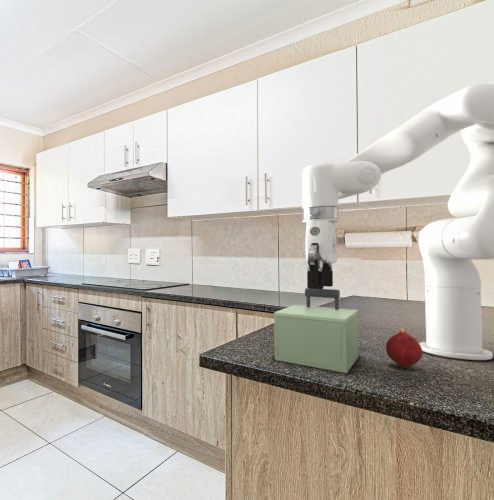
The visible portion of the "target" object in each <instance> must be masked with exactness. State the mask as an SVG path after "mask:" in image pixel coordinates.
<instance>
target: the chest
mask: <svg viewBox="0 0 494 500" xmlns="http://www.w3.org/2000/svg"><path fill="white" fill-rule="evenodd" d="M273 317H274V320H273V321H274V322H273V323H274V324H273V325H274V360H275V361H279V362H283V363H289V364H294V365H300V366H305V367H310V368H317V369H320V370H327V371H331V372H337V373H343V374H347V373H348V372H349V371H350V370H351V368H353V367H352V366H353V365H354V364H355V362H357V360H358V358H359V325H358V324H359V321H358V318H359V317H358V314H356V315H355V316H354V317H353V318H351V319H350V320H349V321H348V322H346V323H339V322H329V321H319V320H309V319H300V318H290V317H280V316H273Z"/></svg>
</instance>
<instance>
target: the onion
mask: <svg viewBox="0 0 494 500" xmlns="http://www.w3.org/2000/svg"><path fill="white" fill-rule="evenodd" d="M406 330H407V329H405V328H400V329H399V331H398V332H397V333H396V334H393V335H392V336H390V337H389V338H388V340H387V341H386V343H385V352H386V354H387V356H388V357H389V359H390V360H391V361H393V363H395V364H397V365H398V366H399V367H400V368H402V369H408V368H409V367H412V366H414V365H415V364H417V363H419V362H420V360H421V359H422V357H423V351H422V348H421V346H420V344H419V343H420V342H419V341H418V340H417V339H416V338H414V336H412V335H411V334H409V333H408V332H407V331H406Z"/></svg>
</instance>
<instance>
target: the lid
mask: <svg viewBox="0 0 494 500" xmlns="http://www.w3.org/2000/svg"><path fill="white" fill-rule="evenodd" d="M304 296H305V297H306V302H305V305H304V304H303V305H301V304H292V305H290V306H287V307H285V308H282V309H280V310H277V311H274V312H273V315H274V316H280V317H290V318H300V319H309V320H319V321H329V322H339V323H346V322H348V321H349V320H350V319H351V318H353V317H354V316H355V315H356V314H357V315H358V314H359V310H358V309H353V308H352V309H351V308H340V298H341V292H340V289H330V288H323V289H309V288H308V287H306V288H305V289H304ZM311 298H325V299H326V298H327V299H334V307H329V306H328V307H327V306H314V305H313V306H312V305H311ZM274 316H273V317H274Z"/></svg>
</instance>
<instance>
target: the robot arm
mask: <svg viewBox="0 0 494 500" xmlns="http://www.w3.org/2000/svg"><path fill="white" fill-rule="evenodd" d="M458 132H460V135H461V136H460V137H461V139H462V141H463V143H464V144H465V146H466V148H467V150H468V152H469V155H470V163H469V164H468V167H467V169H466V171H465V172H464V174H463V175H462V177H461V178H460V180H459V181H458V183H457V184H456V187H454V190H453V191H452V193H451V195H450V196H449V199H448V201H447V209H448V212H449V213H450V214H451V215H452V216H453V217H452V218H444V219H443V218H442V219H438V220H435V221H432V222H430V223H428V224H427V225H425V226H424V227H423V228H422V229H421V231H420V232H419V235H418V240H417V243H418V249H419V252H420V256H421V259H422V265H423V273H424V307H425V308H424V309H425V313H424V314H425V341H421V342H418V343H419V344H420V346H421V348H422V352H423V353H428V354H431V355H435V356H440V357H443V358H444V357H445V358H450V359H458V360H467V361H489V360H492V359H493V358H494V353H493V352H492V351H490V350H488V349H486V348H483V326H482V325H483V322H482V321H483V320H482V284H481V283H482V281H481V275H480V272H479V270H478V268H477V266H476V265H475V263H474V261H473V260H493V259H494V83H475V84H470V85H468V86H465V87H463V88H461V89H459V90H457V91H455V92H453V93H451V94H449V95H447V96H444V97H443V98H441V99H439V100H437V101H435V102H434V103H432V104H431V105H428V106H427V107H426V108H424V109H423V110H421V111H420V112H419V113H417V114H415V115H413V117H411V118H410V119H408V120H407V121H405V122H404V123H402V124H401V125H399V126H398V127H396V128H394V129H393V130H391V131H390V132H389V133H387V134H385V135H383V136H382V137H380V138H379V139H378V140H376V141H375V142H373V143H372V144H370V145H369V146H367V147H366V148H364V149H363V150H361V151H360V152H358V153H356V154H354V155H353V156H352V157H350V158H349V159H347V160H345V161H344V162H340V163H333V162H331V163H330V162H319V163H313V164H310V165H307V166H305V167H304V168H303V170H302V172H301V197H302V198H301V206H302V207H301V208H302V209H301V210H302V211H301V213H302V214H301V215H302V216H301V217H302V218H301V221H302V224H305V260H306V261H307V267H306V270H307V271H306V281H307V283H306V288H309V289H325V288H324V287H329V288H330V287H333V286H334V279H333V278H334V274H333V273H334V272H333V264H335V263H337V262H338V249H337V248H338V247H337V232H336V225H335V223H338V222H339V200H342V199H346V198H350V197H352V196H356V195H360V194H364V193H366V192H369V191H371V190H373V189H374V188H375V187H377V185H378V184H379V183H380V181H381V179H382V175H383V174H385V173H387V172H390V171H393V170H395V169H399V168H400V167H403V166H405V165H407V164H409V163H411V162H412V161H414V160H416V159H417V158H420V157H422V156H423V155H424V154H425V153H427V152H428V151H430V150H431V149H433V148H434V147H436V146H437V145H439V144H440V143H442V142H444V141H446V139H448V138H449V137H451V136H452V135H454V134H456V133H458Z"/></svg>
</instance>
